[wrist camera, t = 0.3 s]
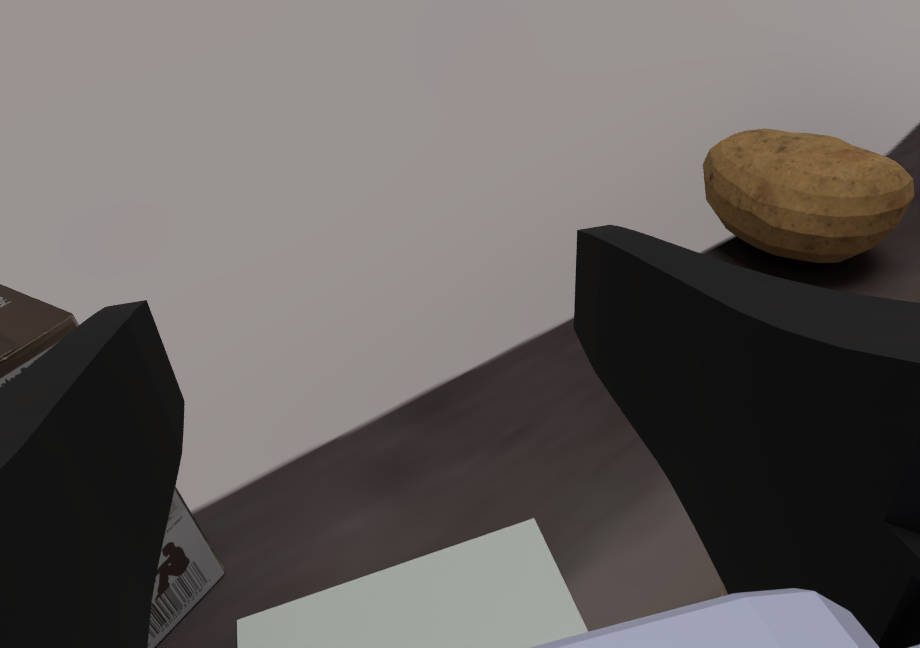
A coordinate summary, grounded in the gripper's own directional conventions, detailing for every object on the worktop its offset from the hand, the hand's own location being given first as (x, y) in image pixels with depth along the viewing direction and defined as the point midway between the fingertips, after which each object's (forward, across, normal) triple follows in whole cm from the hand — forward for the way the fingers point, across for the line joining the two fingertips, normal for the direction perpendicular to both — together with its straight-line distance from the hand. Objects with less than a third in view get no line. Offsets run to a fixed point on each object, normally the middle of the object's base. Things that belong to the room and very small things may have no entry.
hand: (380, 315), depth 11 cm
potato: (+28, -31, +17) cm, 45 cm away
